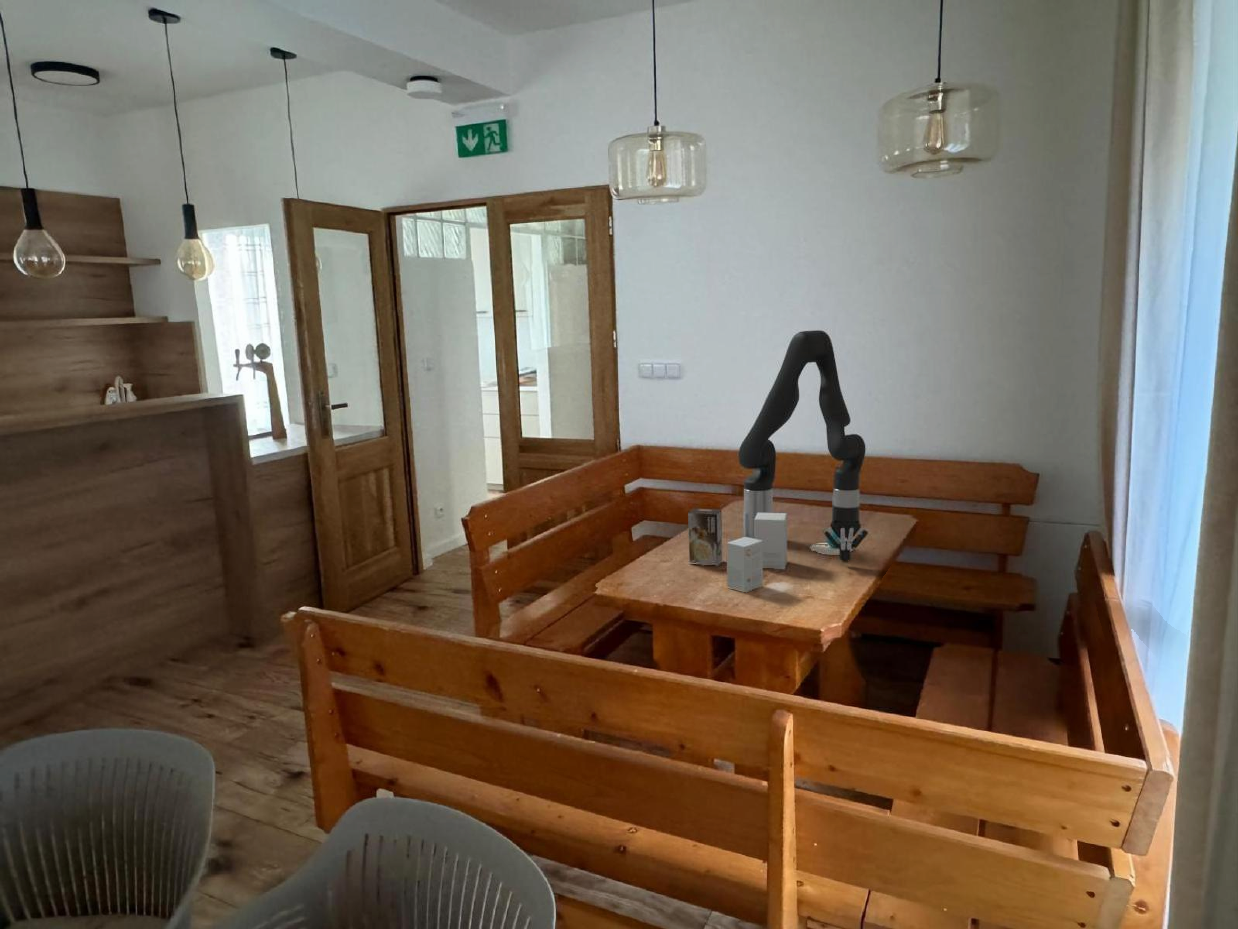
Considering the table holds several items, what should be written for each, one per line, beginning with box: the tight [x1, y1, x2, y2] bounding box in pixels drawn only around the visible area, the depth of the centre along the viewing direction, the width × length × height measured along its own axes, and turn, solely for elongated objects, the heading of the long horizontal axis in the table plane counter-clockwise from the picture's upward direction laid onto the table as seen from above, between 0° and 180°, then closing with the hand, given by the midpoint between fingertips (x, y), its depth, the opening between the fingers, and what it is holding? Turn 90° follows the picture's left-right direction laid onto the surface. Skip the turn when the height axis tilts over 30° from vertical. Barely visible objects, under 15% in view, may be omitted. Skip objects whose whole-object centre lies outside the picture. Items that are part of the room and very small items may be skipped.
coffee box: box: [687, 507, 723, 566], centre depth 244 cm, size 9×6×16 cm
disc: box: [809, 542, 854, 556], centre depth 256 cm, size 13×13×1 cm
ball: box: [825, 530, 839, 548], centre depth 257 cm, size 6×6×6 cm
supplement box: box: [754, 512, 788, 570], centre depth 240 cm, size 9×9×15 cm
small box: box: [726, 536, 764, 593], centre depth 221 cm, size 8×6×13 cm
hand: (844, 561), depth 238 cm, fingers closed
